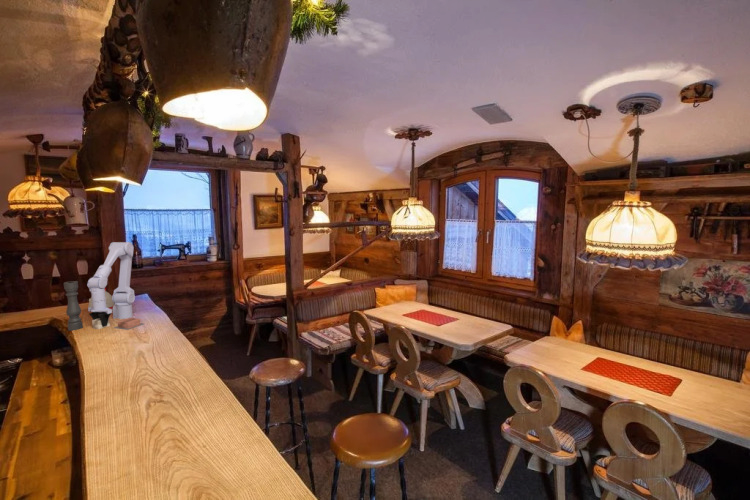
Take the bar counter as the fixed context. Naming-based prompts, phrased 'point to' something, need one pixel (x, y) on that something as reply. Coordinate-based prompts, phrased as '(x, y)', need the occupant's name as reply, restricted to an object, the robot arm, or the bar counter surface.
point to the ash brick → (99, 324)
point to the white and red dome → (108, 301)
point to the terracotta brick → (128, 323)
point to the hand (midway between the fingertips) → (101, 325)
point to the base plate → (128, 328)
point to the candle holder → (73, 306)
